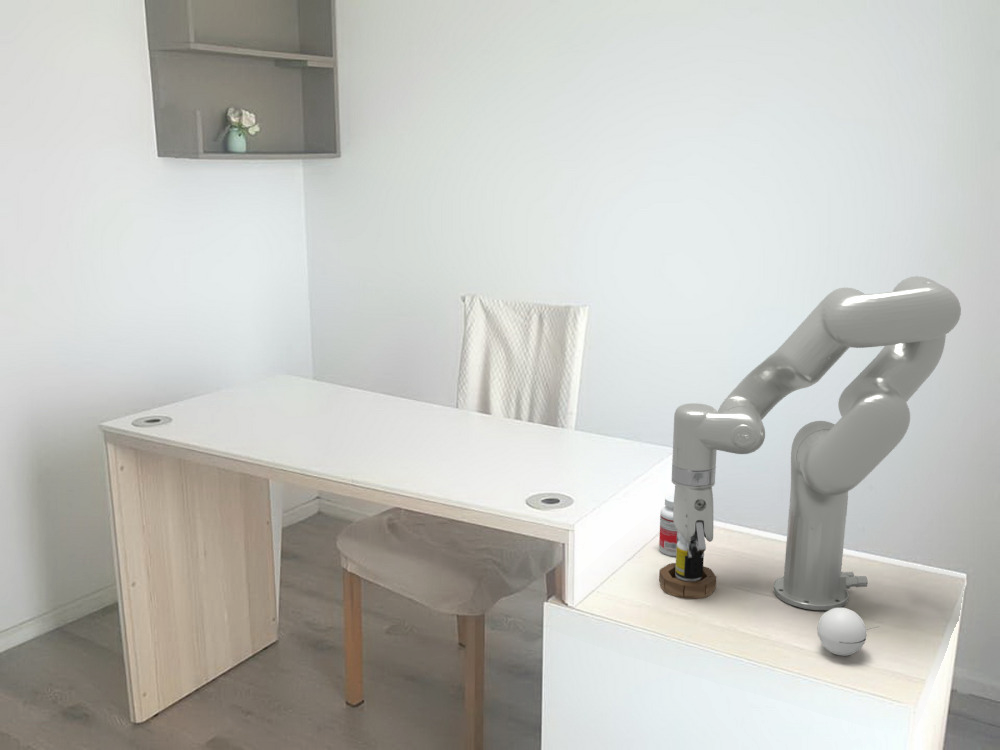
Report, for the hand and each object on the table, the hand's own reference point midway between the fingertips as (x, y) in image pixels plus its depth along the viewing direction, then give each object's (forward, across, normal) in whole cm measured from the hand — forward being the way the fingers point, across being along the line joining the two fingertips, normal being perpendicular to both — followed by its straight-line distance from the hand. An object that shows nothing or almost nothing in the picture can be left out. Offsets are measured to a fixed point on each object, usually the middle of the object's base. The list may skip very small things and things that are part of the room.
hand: (689, 569), depth 177 cm
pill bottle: (+4, +16, -2) cm, 17 cm away
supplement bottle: (+2, 0, 0) cm, 2 cm away
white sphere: (+4, -25, -19) cm, 31 cm away
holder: (+3, 0, 0) cm, 3 cm away
